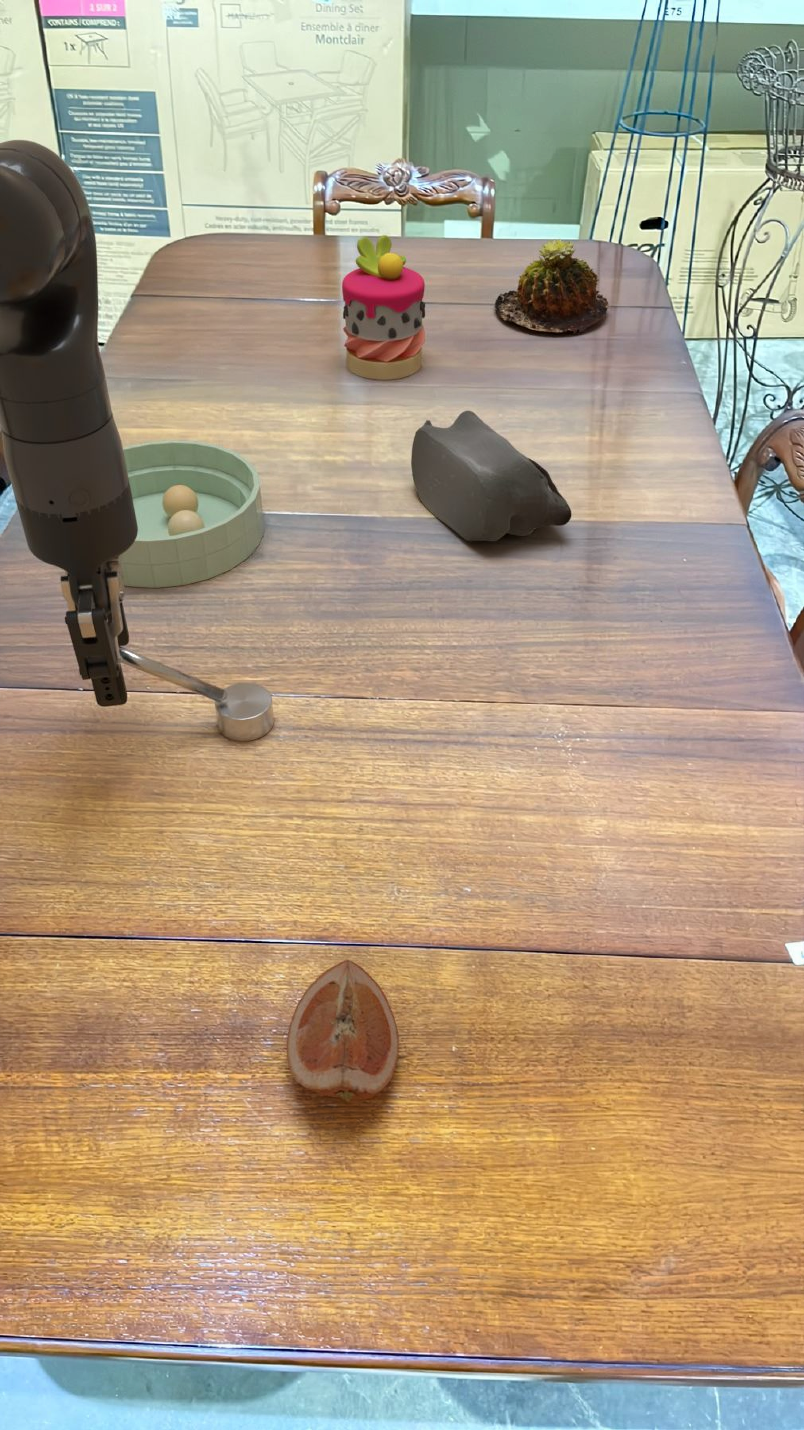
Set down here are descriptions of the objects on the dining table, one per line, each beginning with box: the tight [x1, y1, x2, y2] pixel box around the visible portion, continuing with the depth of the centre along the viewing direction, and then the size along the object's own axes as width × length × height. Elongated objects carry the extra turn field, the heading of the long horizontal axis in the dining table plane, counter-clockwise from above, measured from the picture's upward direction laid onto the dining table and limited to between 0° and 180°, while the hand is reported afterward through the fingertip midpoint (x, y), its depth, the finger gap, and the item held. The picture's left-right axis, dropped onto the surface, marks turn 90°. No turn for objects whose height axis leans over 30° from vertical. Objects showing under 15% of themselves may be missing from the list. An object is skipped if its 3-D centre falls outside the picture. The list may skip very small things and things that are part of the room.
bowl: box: [121, 439, 265, 589], centre depth 107 cm, size 19×19×6 cm
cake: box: [341, 234, 426, 381], centre depth 136 cm, size 10×11×15 cm
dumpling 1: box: [162, 485, 199, 518], centre depth 110 cm, size 4×4×4 cm
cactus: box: [494, 238, 610, 335], centre depth 150 cm, size 17×16×10 cm
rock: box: [410, 410, 572, 542], centre depth 111 cm, size 18×11×8 cm, turn 29°
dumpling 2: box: [168, 510, 205, 536], centre depth 106 cm, size 4×4×4 cm
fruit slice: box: [286, 959, 400, 1102], centre depth 64 cm, size 8×7×5 cm
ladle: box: [119, 646, 275, 742], centre depth 85 cm, size 14×5×10 cm, turn 100°
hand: (114, 672), depth 83 cm, fingers open, 6 cm apart
